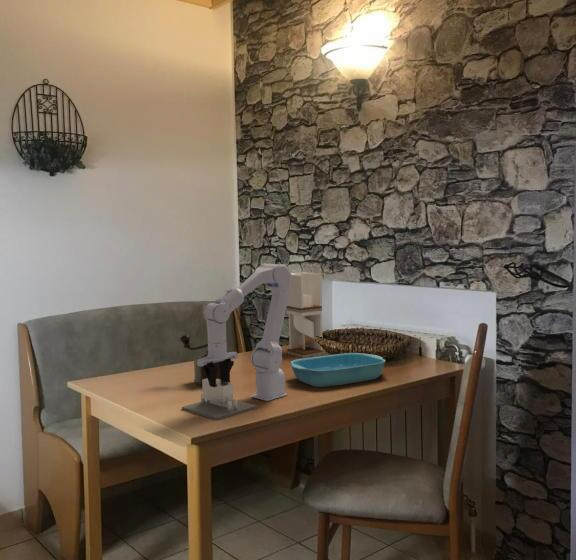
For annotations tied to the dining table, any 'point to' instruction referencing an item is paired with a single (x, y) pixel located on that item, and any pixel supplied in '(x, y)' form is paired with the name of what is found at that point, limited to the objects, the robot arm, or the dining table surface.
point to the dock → (218, 408)
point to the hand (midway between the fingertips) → (218, 385)
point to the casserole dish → (338, 369)
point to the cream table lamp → (305, 314)
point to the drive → (217, 391)
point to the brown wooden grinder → (198, 370)
